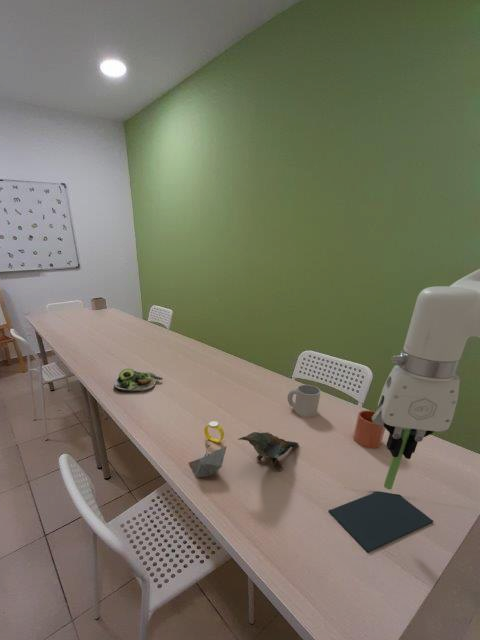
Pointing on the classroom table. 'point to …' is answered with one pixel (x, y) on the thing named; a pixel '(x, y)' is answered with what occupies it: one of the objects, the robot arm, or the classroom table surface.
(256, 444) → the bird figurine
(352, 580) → the classroom table surface
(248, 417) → the classroom table surface
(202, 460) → the paper boat
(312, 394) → the cup
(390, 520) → the mat
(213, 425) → the gold diamond ring
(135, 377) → the salad plate
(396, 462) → the green square stick
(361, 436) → the tumbler
